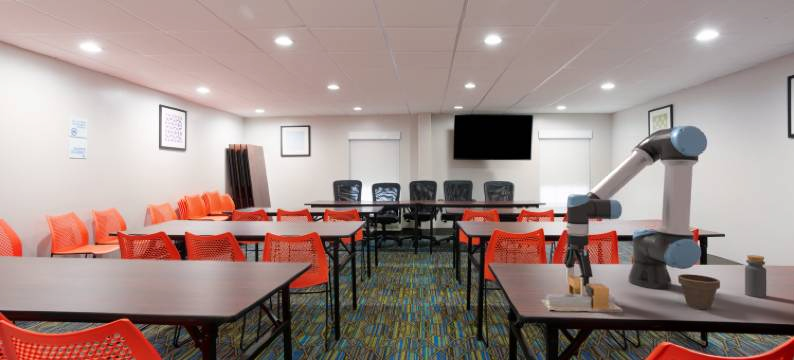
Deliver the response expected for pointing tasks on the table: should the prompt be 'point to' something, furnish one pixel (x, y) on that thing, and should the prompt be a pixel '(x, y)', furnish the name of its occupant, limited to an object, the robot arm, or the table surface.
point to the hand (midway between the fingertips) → (577, 289)
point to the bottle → (755, 277)
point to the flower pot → (699, 290)
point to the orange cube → (574, 284)
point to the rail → (583, 300)
